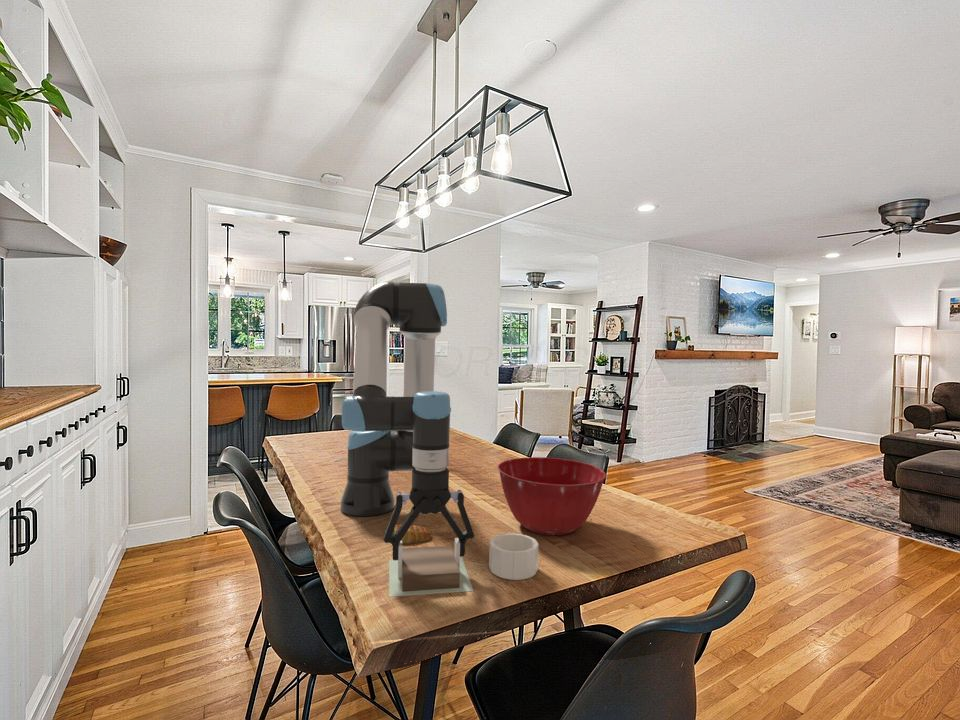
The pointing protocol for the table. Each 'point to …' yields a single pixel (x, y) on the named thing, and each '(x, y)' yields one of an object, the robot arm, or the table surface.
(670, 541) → the table surface
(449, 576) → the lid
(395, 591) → the mat
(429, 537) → the pastry
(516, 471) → the mixing bowl
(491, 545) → the bowl
